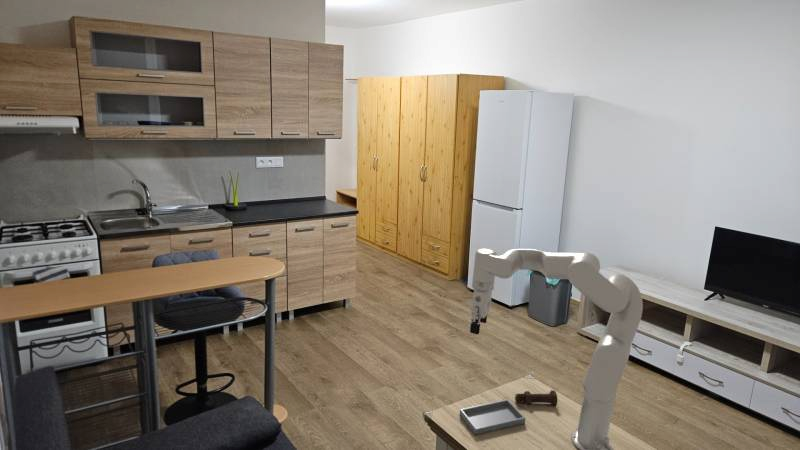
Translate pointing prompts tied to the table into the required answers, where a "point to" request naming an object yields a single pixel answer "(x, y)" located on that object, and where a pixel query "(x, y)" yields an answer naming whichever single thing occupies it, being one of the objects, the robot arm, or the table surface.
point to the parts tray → (492, 417)
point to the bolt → (537, 398)
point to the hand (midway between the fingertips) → (478, 327)
